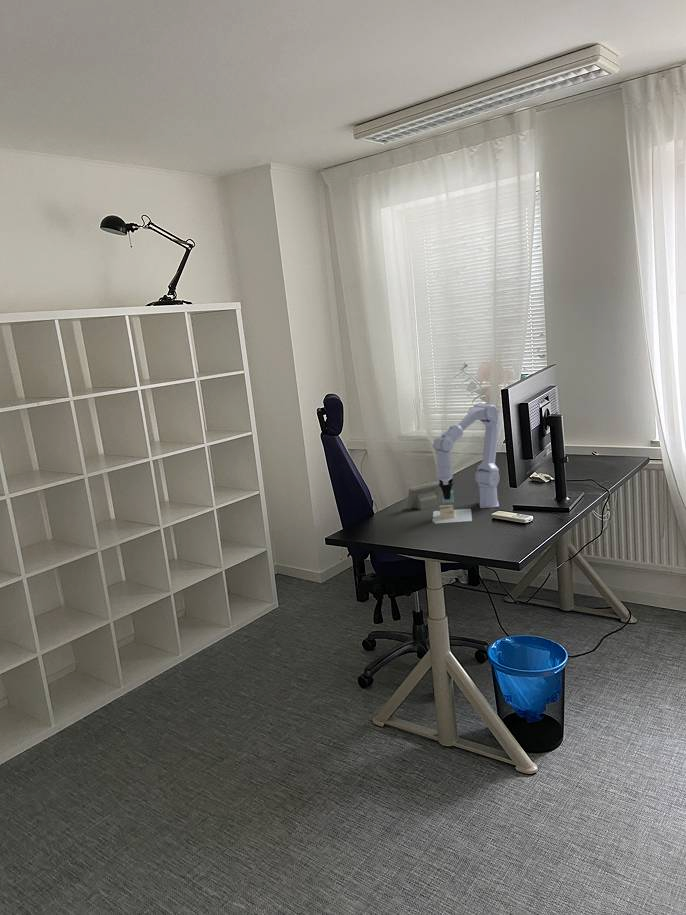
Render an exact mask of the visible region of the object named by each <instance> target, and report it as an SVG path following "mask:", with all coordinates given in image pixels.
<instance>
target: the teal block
mask: <svg viewBox="0 0 686 915" xmlns="http://www.w3.org/2000/svg"><path fill="white" fill-rule="evenodd" d="M441 496H442V499H441V500H442V503H443V504H445V503H455V499H454V489H451V494H450V499H447V500H445V499H444V495H443V492H442V491H441Z"/></svg>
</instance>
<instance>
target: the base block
mask: <svg viewBox="0 0 686 915" xmlns="http://www.w3.org/2000/svg"><path fill="white" fill-rule="evenodd" d="M454 510H455V509H454V504H447V505H445V504H444V505H443V504H442V505H439V511H440V518H441V519H442V518H454Z"/></svg>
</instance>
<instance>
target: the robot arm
mask: <svg viewBox="0 0 686 915" xmlns="http://www.w3.org/2000/svg"><path fill="white" fill-rule="evenodd" d="M499 412H500V410H499V409H498V408H497V406H496V405H494V404H484V403H483V404H482V403H475V404H474V406H472V407H471V408H470V410H469V412H468V413H467V414H466V415H465V416H464V417H463V419H462V420H461V421H459V423H458V424H453V425H450V426H449V428H448V429H447V430H446V431H445V432H443V433H442V434H441V436H437V437H436V438H435V439H434V440H433V444H432V449H433V450H434V451H435V454H436V463H437V472H438V474H437V476H435V479H436V480H438V482H440V483H439V486H440V490H441V493H442V492H443V495H444V499H445V500H447V499H450V494H451V490H452V487H453V484H454V483H453V478H454V475H453V467H452V466H453V465H452V458H451V457H452V456H451V450H452V449H453V447H454V445H455V443H456V442H457V441H458V440H460V438H461V437H462V436H463V434H464V431H465V430H466V429H468V428H469V427H470V426H471V425H472V424H473V423H475V422H476V421H479V422H482V424H483V425H484V427H485V432H484V438H483V439H484V441H483V449H482V458H481V459H482V460H481V463H480V464H479V465H478V466H477V469H476V472H475V474H474V479H475V482H476V483H477V485H478V489H479V498H480V501H479V507H480V509H485V508H486V509H488V508H499V507H500V504H499V500H498V489H497V487H498V484H499V482H500V478H501V477H500V474H499V473H500V472H499V471H500V469H499V467H498V466H497V465H496V457H497V456H496V455H497V449H498V439H499V431H500V430H499V428H500V419H499V415H500V414H499Z"/></svg>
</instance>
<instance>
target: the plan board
mask: <svg viewBox="0 0 686 915" xmlns="http://www.w3.org/2000/svg"><path fill="white" fill-rule="evenodd" d="M453 510H454V518H442V519H441V518H440V510H433V512H432V522H433V521H434V522H435V524H444V523H445V524H449V523H461V522H472V521H473V518H472V509H471V508H461V509H459V508H458V509H453ZM433 517H434V518H435V519H434V518H433Z"/></svg>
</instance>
